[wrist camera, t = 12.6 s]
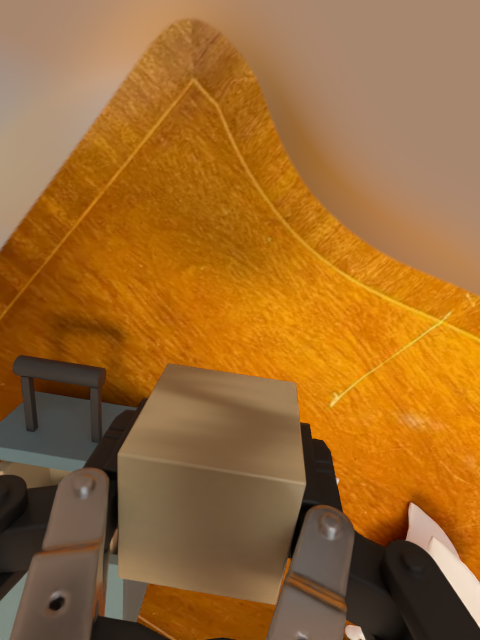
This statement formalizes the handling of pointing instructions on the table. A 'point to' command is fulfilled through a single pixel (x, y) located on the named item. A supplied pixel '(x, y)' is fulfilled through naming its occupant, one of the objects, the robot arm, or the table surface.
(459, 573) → the figurine
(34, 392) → the drawer
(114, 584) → the cabinet
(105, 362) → the table surface
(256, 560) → the block
